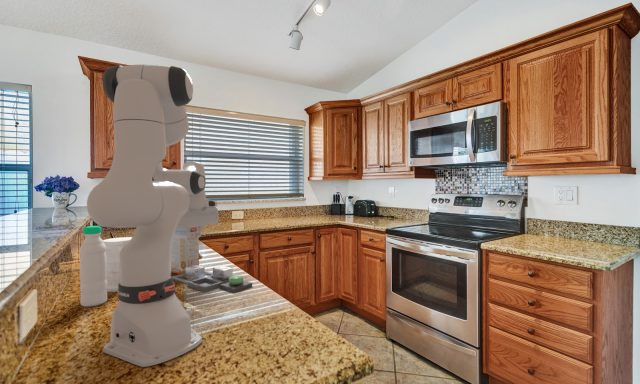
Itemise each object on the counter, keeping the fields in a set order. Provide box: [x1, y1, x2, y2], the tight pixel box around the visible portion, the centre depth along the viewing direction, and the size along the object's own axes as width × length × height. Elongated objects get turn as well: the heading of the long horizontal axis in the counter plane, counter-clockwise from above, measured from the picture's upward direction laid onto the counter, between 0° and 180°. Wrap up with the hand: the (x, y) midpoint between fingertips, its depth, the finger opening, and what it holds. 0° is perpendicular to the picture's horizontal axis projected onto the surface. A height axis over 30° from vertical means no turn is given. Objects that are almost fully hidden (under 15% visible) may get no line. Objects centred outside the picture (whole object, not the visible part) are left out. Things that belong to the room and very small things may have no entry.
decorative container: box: [102, 236, 133, 293], centre depth 118 cm, size 12×12×18 cm
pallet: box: [186, 275, 229, 293], centre depth 117 cm, size 11×15×3 cm
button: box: [229, 275, 244, 285], centre depth 112 cm, size 5×5×4 cm
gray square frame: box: [172, 270, 213, 285], centre depth 125 cm, size 12×12×2 cm
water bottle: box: [78, 225, 108, 308], centre depth 101 cm, size 7×7×25 cm
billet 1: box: [185, 265, 206, 281], centre depth 125 cm, size 7×4×5 cm, turn 52°
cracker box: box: [171, 226, 200, 275], centre depth 135 cm, size 14×6×21 cm, turn 58°
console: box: [219, 280, 253, 293], centre depth 112 cm, size 8×8×2 cm
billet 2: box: [212, 265, 234, 281], centre depth 120 cm, size 7×4×5 cm, turn 52°
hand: (194, 237), depth 124 cm, fingers closed
